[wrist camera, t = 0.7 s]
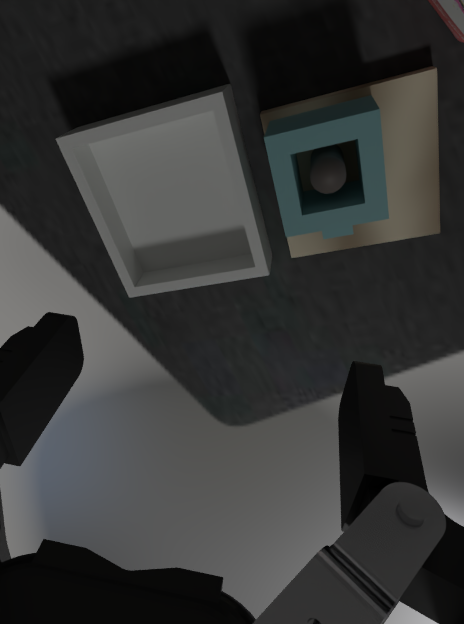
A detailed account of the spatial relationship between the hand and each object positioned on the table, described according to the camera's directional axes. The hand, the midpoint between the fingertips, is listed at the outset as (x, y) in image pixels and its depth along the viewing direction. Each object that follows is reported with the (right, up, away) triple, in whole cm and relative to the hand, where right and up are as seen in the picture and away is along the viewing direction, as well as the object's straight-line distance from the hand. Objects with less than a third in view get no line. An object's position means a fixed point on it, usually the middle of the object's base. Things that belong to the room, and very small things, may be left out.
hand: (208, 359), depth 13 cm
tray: (-3, +10, +19) cm, 22 cm away
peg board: (+9, +11, +16) cm, 21 cm away
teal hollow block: (+7, +11, +15) cm, 20 cm away
